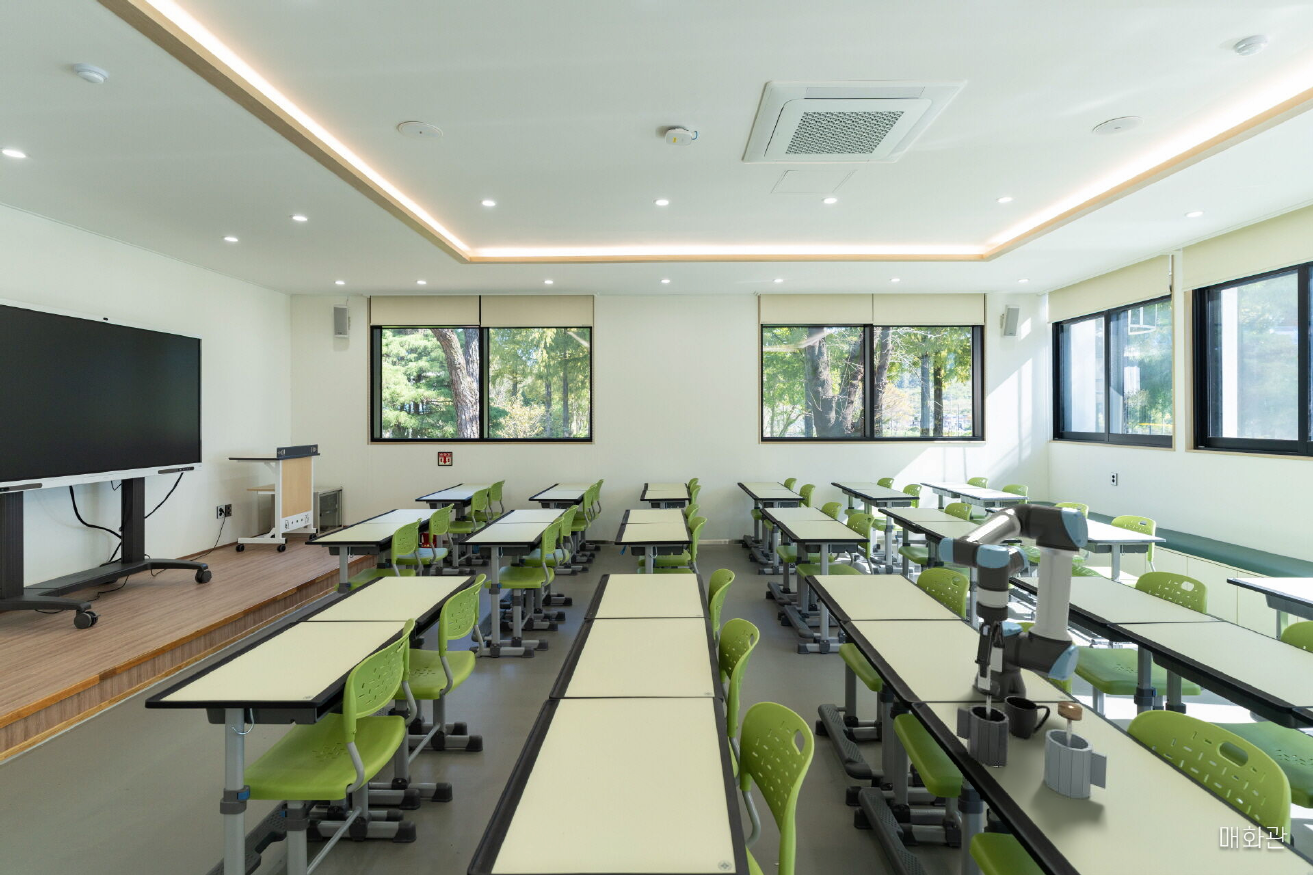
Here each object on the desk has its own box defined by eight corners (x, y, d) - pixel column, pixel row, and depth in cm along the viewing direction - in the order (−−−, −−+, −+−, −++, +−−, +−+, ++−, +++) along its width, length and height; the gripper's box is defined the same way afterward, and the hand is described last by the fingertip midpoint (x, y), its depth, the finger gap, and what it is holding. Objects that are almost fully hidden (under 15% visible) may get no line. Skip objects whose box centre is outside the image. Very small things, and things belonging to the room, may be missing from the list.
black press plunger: (977, 736, 161) (979, 675, 160) (1003, 745, 156) (1005, 682, 156) (971, 745, 156) (973, 683, 155) (997, 755, 152) (1000, 690, 151)
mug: (1056, 744, 162) (1057, 712, 162) (1011, 740, 164) (1012, 708, 163) (1041, 728, 170) (1042, 697, 170) (998, 725, 172) (999, 694, 172)
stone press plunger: (1054, 762, 149) (1056, 697, 148) (1084, 773, 144) (1087, 705, 144) (1050, 774, 144) (1052, 706, 143) (1081, 785, 140) (1084, 715, 139)
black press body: (961, 738, 165) (962, 697, 164) (1010, 755, 157) (1011, 713, 156) (951, 752, 158) (953, 710, 158) (1002, 771, 150) (1004, 727, 149)
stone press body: (1047, 769, 151) (1049, 725, 150) (1106, 790, 143) (1108, 743, 142) (1041, 786, 144) (1043, 740, 143) (1103, 809, 136) (1105, 760, 135)
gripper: (987, 588, 166) (985, 659, 167) (964, 612, 148) (962, 691, 149) (1017, 594, 161) (1015, 667, 162) (996, 619, 143) (994, 701, 144)
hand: (990, 678), depth 156 cm, fingers open, 13 cm apart
